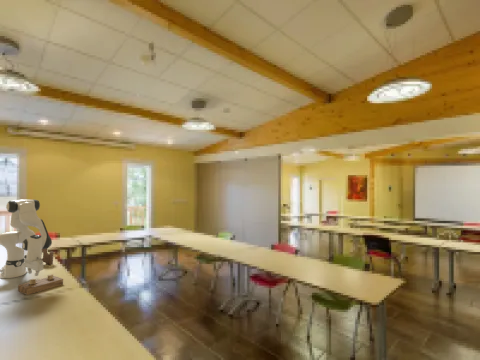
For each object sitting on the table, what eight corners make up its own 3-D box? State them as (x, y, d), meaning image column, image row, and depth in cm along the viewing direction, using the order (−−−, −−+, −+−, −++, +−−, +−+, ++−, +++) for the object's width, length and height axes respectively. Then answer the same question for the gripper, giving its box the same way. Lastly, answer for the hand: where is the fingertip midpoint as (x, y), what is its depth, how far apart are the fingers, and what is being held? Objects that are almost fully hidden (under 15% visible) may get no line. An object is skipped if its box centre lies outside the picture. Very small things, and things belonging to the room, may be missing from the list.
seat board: (18, 291, 189) (18, 285, 189) (53, 281, 210) (53, 275, 211) (27, 294, 183) (28, 288, 183) (62, 284, 204) (63, 278, 204)
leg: (33, 288, 194) (34, 278, 194) (36, 289, 192) (37, 279, 192) (28, 290, 190) (28, 279, 191) (30, 291, 189) (31, 280, 189)
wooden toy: (33, 267, 244) (34, 241, 245) (33, 265, 249) (34, 240, 250) (52, 264, 254) (54, 240, 255) (52, 263, 259) (54, 239, 260)
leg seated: (46, 285, 201) (46, 275, 201) (51, 283, 204) (51, 274, 205) (48, 286, 199) (49, 276, 200) (53, 284, 203) (54, 274, 203)
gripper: (46, 257, 191) (45, 276, 190) (32, 253, 200) (31, 270, 199) (36, 259, 185) (35, 278, 185) (22, 255, 194) (21, 273, 194)
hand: (33, 274), depth 192 cm, fingers open, 8 cm apart
